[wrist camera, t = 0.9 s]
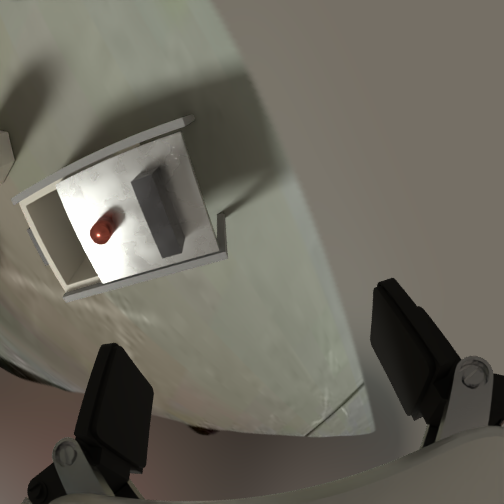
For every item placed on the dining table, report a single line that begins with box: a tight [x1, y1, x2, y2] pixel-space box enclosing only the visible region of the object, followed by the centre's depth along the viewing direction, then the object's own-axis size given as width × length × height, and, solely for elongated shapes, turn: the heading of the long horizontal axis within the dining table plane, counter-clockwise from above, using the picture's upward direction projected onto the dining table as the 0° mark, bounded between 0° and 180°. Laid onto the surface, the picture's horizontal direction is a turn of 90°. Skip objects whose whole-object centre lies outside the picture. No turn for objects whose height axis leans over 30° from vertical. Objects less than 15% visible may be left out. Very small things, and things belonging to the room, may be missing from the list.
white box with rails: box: [11, 114, 228, 302], centre depth 29 cm, size 14×22×10 cm, turn 104°
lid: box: [55, 131, 219, 283], centre depth 24 cm, size 11×13×4 cm
